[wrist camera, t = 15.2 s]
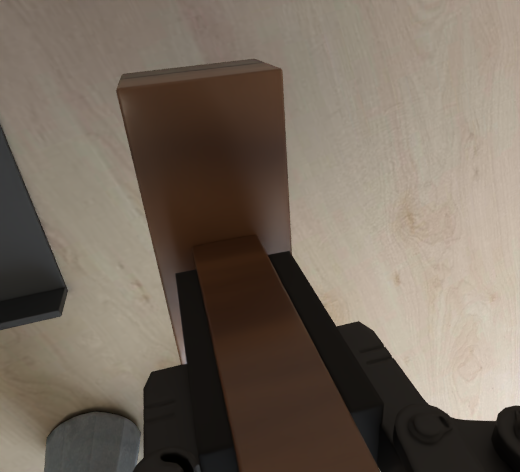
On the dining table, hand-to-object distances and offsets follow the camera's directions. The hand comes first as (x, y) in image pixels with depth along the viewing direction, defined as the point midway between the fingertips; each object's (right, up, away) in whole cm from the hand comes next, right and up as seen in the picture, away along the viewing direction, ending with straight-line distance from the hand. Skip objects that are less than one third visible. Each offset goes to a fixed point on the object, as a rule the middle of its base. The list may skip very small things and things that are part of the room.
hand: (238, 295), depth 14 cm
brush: (-1, +2, +4) cm, 5 cm away
